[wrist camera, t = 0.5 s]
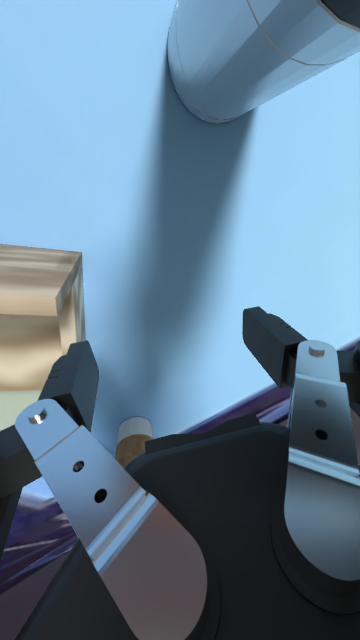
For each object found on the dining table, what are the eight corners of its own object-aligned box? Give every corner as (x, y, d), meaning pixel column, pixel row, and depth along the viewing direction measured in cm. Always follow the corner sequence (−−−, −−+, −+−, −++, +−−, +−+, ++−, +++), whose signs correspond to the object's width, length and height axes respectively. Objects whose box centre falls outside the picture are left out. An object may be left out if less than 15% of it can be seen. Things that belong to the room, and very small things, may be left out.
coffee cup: (162, 433, 46) (176, 528, 34) (120, 446, 46) (119, 548, 33) (151, 406, 42) (162, 504, 29) (104, 420, 41) (95, 527, 29)
